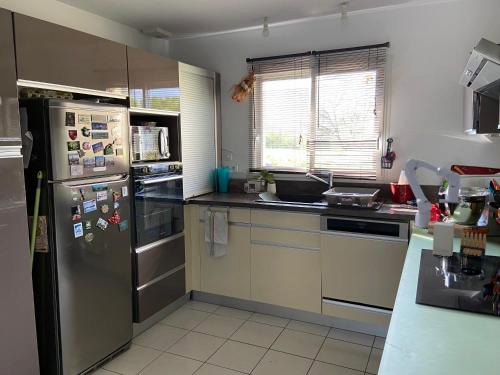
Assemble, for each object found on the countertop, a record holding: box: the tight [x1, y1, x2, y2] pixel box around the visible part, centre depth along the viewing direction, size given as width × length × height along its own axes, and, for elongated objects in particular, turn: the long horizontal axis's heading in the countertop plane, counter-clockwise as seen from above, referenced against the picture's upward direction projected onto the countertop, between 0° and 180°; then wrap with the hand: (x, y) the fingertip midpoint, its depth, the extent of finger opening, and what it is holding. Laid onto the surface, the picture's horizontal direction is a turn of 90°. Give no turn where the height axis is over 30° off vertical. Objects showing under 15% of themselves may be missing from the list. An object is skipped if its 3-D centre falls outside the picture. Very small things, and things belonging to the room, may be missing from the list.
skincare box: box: [432, 221, 455, 256], centre depth 189 cm, size 8×7×16 cm
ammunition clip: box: [459, 230, 487, 258], centre depth 187 cm, size 11×2×12 cm, turn 58°
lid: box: [428, 220, 464, 231], centre depth 234 cm, size 13×18×1 cm
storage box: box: [427, 227, 464, 238], centre depth 234 cm, size 12×18×4 cm, turn 65°
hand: (451, 215), depth 239 cm, fingers closed
